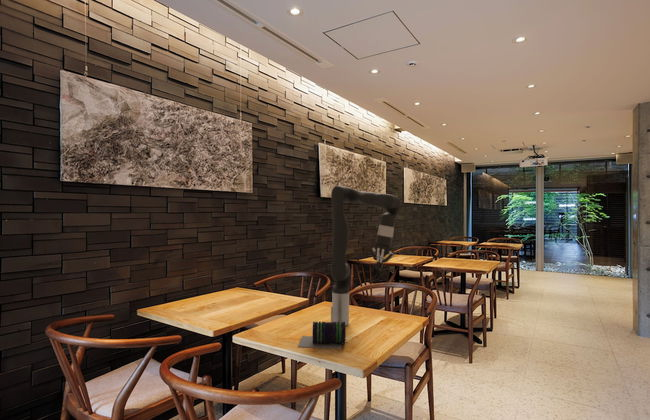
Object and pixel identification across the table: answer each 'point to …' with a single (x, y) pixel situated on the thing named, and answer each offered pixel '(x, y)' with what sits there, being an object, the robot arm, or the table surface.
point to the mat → (308, 342)
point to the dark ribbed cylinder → (329, 332)
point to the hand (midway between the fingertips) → (378, 269)
